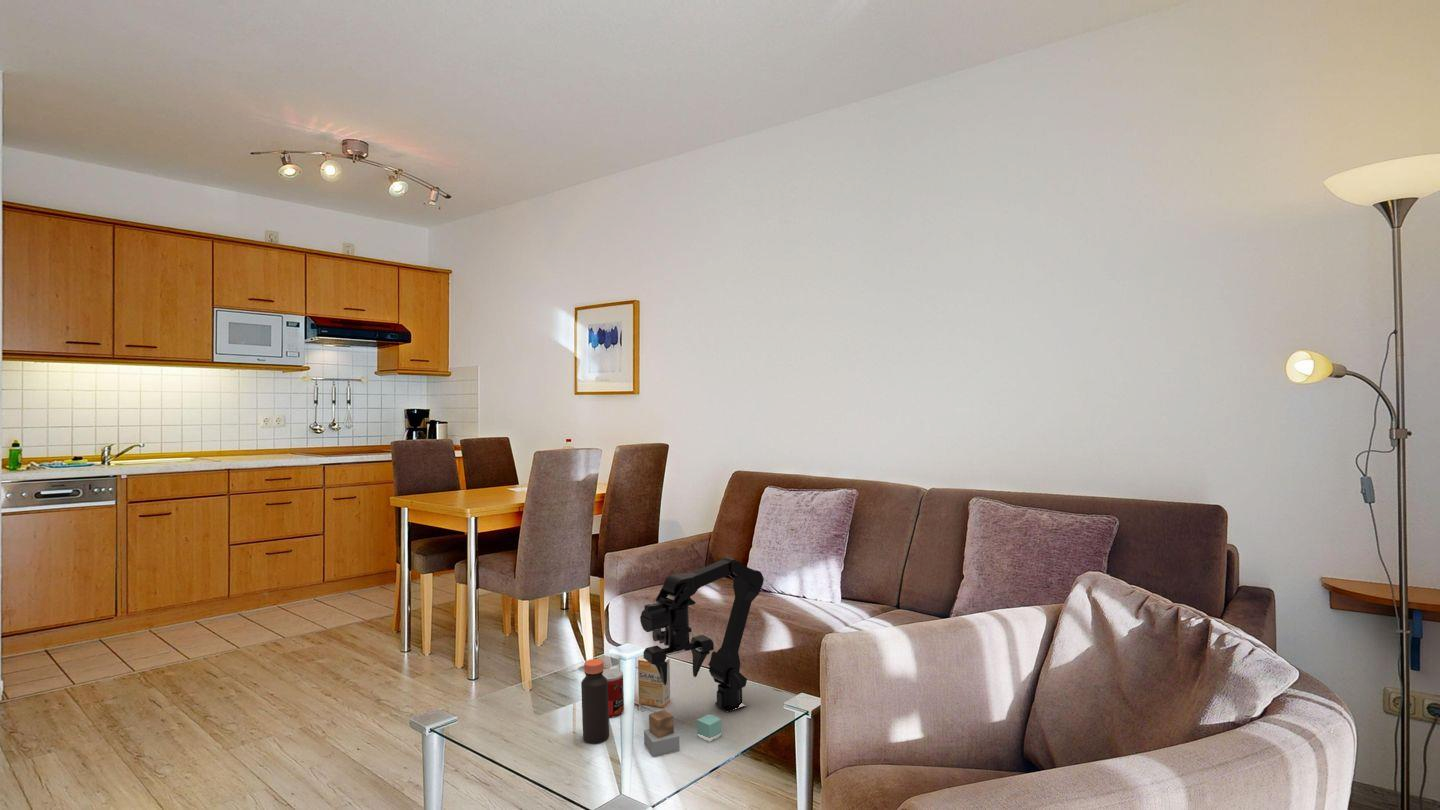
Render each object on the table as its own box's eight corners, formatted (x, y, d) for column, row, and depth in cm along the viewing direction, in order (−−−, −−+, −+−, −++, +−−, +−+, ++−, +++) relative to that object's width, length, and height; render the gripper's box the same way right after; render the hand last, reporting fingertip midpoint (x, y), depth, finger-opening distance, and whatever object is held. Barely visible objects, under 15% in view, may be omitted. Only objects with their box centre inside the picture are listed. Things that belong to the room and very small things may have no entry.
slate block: (669, 739, 193) (669, 724, 193) (679, 751, 187) (679, 736, 187) (644, 745, 190) (643, 730, 190) (653, 758, 184) (652, 742, 184)
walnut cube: (664, 726, 192) (664, 709, 192) (673, 733, 188) (673, 715, 188) (649, 731, 189) (648, 714, 189) (658, 738, 186) (658, 720, 185)
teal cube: (709, 730, 197) (709, 714, 197) (721, 736, 194) (721, 719, 194) (697, 736, 194) (696, 719, 194) (709, 742, 191) (709, 725, 190)
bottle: (587, 746, 190) (585, 669, 189) (579, 735, 196) (577, 660, 195) (612, 740, 193) (610, 664, 192) (604, 729, 199) (602, 655, 198)
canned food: (618, 719, 205) (617, 679, 204) (591, 717, 206) (590, 678, 206) (627, 706, 212) (626, 669, 212) (601, 705, 214) (600, 667, 213)
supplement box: (637, 704, 214) (636, 659, 213) (645, 697, 218) (644, 653, 218) (663, 708, 211) (662, 663, 210) (671, 701, 215) (670, 657, 215)
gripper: (693, 609, 211) (695, 663, 212) (633, 621, 202) (635, 678, 202) (714, 619, 202) (715, 676, 203) (652, 633, 192) (653, 692, 193)
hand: (679, 680), depth 200 cm, fingers open, 9 cm apart
